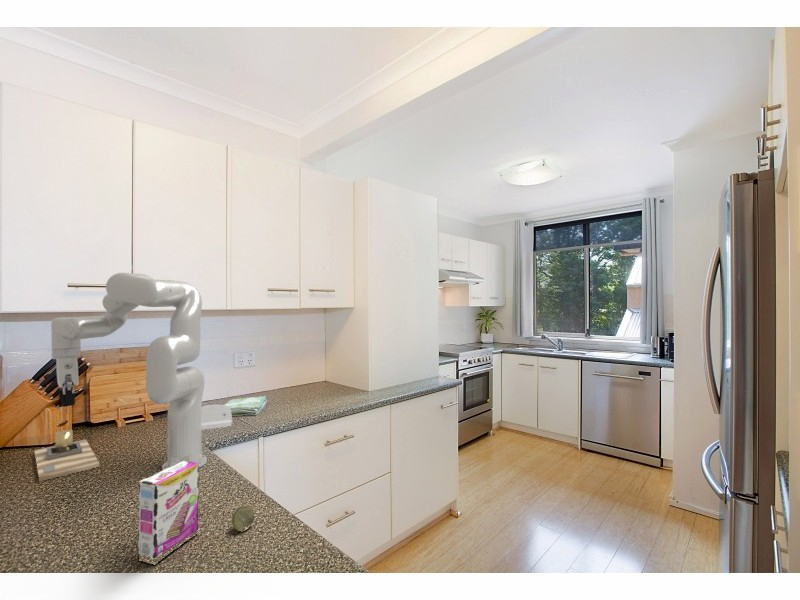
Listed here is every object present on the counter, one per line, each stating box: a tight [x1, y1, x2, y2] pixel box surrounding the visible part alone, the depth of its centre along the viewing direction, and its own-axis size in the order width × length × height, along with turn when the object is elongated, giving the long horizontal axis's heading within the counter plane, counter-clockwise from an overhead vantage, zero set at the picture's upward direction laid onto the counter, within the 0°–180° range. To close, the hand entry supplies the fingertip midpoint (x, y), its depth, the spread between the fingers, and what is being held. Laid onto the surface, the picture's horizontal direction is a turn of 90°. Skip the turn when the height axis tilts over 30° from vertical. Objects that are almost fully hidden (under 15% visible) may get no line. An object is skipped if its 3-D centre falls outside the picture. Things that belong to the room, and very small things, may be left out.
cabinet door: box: [33, 439, 100, 482], centre depth 128 cm, size 30×14×3 cm, turn 46°
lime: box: [231, 505, 255, 532], centre depth 89 cm, size 4×5×5 cm
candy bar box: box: [137, 461, 200, 558], centre depth 82 cm, size 11×5×16 cm, turn 163°
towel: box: [224, 395, 268, 417], centre depth 186 cm, size 18×21×5 cm
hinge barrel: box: [55, 429, 74, 453], centre depth 131 cm, size 4×4×7 cm
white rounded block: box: [201, 404, 234, 431], centre depth 163 cm, size 17×5×10 cm, turn 112°
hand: (66, 403), depth 131 cm, fingers open, 9 cm apart
